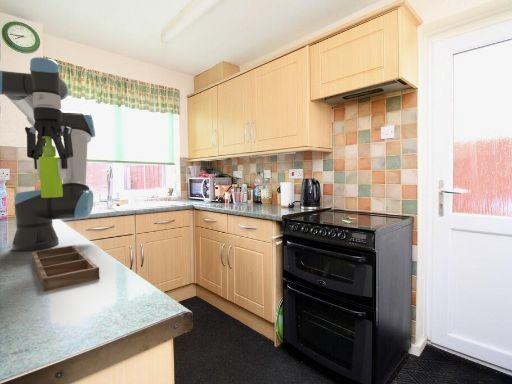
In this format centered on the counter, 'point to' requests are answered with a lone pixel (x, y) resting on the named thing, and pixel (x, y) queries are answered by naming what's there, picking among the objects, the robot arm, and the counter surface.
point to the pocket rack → (63, 267)
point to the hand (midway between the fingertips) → (52, 179)
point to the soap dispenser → (49, 171)
